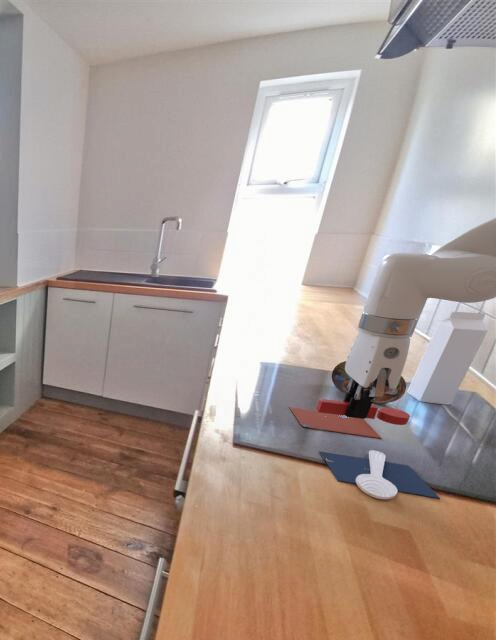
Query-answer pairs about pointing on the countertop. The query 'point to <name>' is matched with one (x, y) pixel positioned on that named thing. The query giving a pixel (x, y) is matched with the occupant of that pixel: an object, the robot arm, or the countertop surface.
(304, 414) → the terracotta mat
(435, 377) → the milk
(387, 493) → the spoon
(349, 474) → the blue mat
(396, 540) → the countertop surface
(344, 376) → the tin
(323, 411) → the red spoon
